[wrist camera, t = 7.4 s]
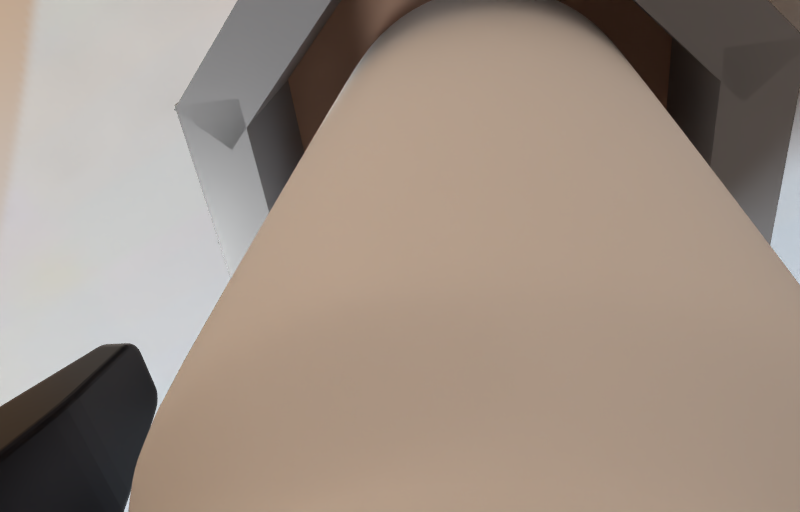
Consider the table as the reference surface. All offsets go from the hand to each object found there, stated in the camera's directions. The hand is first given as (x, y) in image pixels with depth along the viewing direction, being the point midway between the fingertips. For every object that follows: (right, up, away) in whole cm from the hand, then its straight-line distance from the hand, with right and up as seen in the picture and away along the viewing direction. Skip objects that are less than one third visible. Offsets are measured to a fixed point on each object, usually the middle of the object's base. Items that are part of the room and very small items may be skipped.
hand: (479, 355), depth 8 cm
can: (+1, +4, +7) cm, 8 cm away
